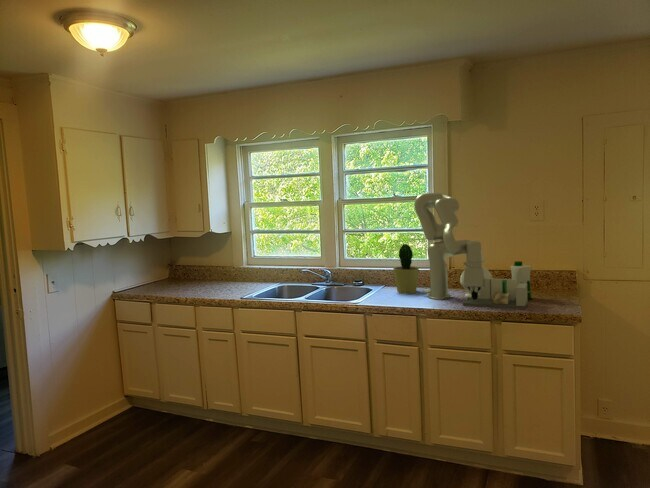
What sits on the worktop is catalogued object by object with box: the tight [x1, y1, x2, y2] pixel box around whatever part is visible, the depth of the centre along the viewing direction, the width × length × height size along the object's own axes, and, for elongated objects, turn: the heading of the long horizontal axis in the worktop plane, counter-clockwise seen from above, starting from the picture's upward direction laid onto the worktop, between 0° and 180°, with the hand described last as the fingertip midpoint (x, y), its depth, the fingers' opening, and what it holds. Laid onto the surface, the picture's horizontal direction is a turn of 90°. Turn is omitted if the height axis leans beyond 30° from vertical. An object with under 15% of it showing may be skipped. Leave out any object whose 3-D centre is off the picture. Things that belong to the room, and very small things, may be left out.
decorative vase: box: [459, 251, 494, 298], centre depth 277 cm, size 18×18×25 cm
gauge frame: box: [462, 278, 528, 310], centre depth 254 cm, size 30×13×12 cm, turn 62°
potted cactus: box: [392, 243, 419, 295], centre depth 298 cm, size 15×15×30 cm
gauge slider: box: [493, 282, 510, 304], centre depth 253 cm, size 7×10×9 cm
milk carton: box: [509, 260, 533, 301], centre depth 264 cm, size 9×9×20 cm
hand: (474, 299), depth 258 cm, fingers closed
